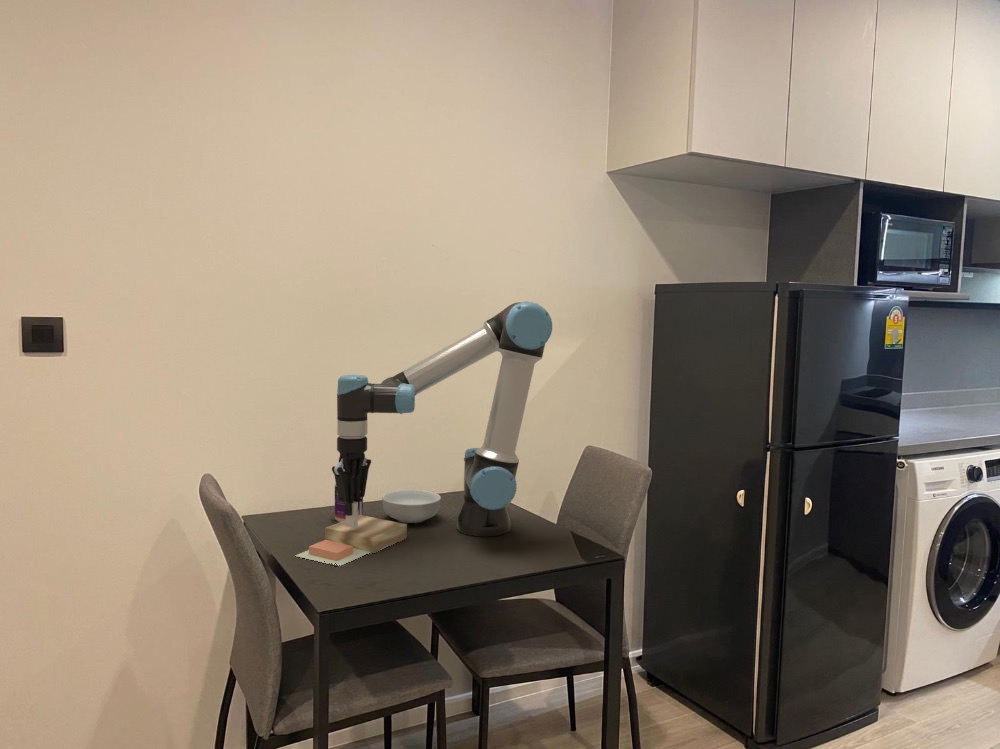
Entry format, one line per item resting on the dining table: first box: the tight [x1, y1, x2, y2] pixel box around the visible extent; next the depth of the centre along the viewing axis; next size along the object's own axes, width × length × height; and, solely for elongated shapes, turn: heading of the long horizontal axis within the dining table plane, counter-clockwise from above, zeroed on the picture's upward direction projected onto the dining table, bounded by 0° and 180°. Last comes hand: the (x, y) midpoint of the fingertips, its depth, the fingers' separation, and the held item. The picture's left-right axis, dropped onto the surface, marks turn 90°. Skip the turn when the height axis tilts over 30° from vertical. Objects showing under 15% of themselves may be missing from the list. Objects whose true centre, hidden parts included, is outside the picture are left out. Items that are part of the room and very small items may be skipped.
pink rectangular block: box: [308, 539, 353, 561], centre depth 180 cm, size 9×6×2 cm, turn 61°
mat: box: [294, 548, 372, 566], centre depth 180 cm, size 14×12×1 cm
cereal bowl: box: [381, 488, 442, 524], centre depth 211 cm, size 17×17×7 cm
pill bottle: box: [334, 480, 364, 523], centre depth 209 cm, size 8×8×14 cm
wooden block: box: [324, 514, 408, 554], centre depth 191 cm, size 16×14×4 cm
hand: (351, 526), depth 186 cm, fingers closed
